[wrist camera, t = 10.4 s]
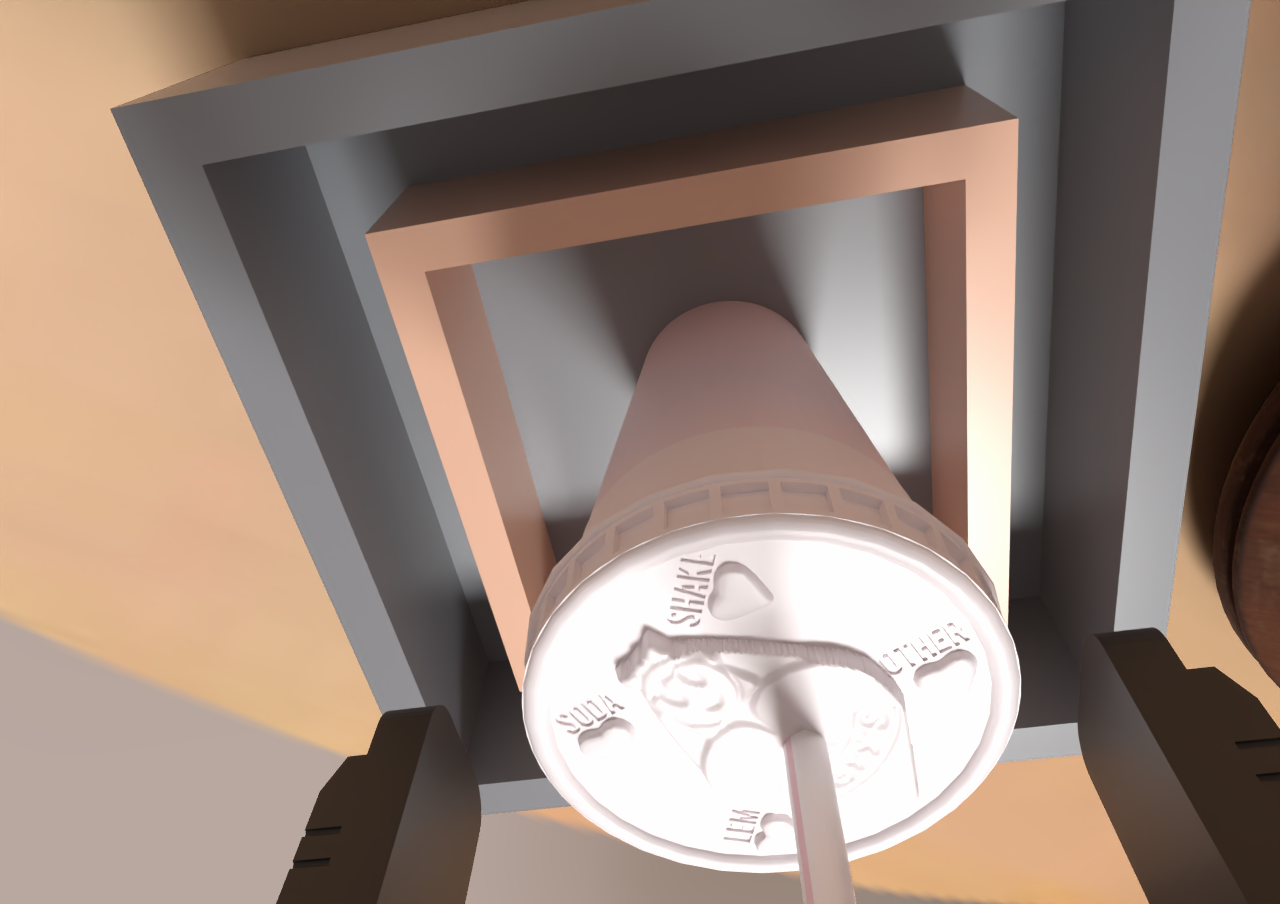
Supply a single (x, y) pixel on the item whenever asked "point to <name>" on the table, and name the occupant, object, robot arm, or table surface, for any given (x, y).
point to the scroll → (1253, 539)
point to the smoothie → (762, 626)
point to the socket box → (709, 291)
